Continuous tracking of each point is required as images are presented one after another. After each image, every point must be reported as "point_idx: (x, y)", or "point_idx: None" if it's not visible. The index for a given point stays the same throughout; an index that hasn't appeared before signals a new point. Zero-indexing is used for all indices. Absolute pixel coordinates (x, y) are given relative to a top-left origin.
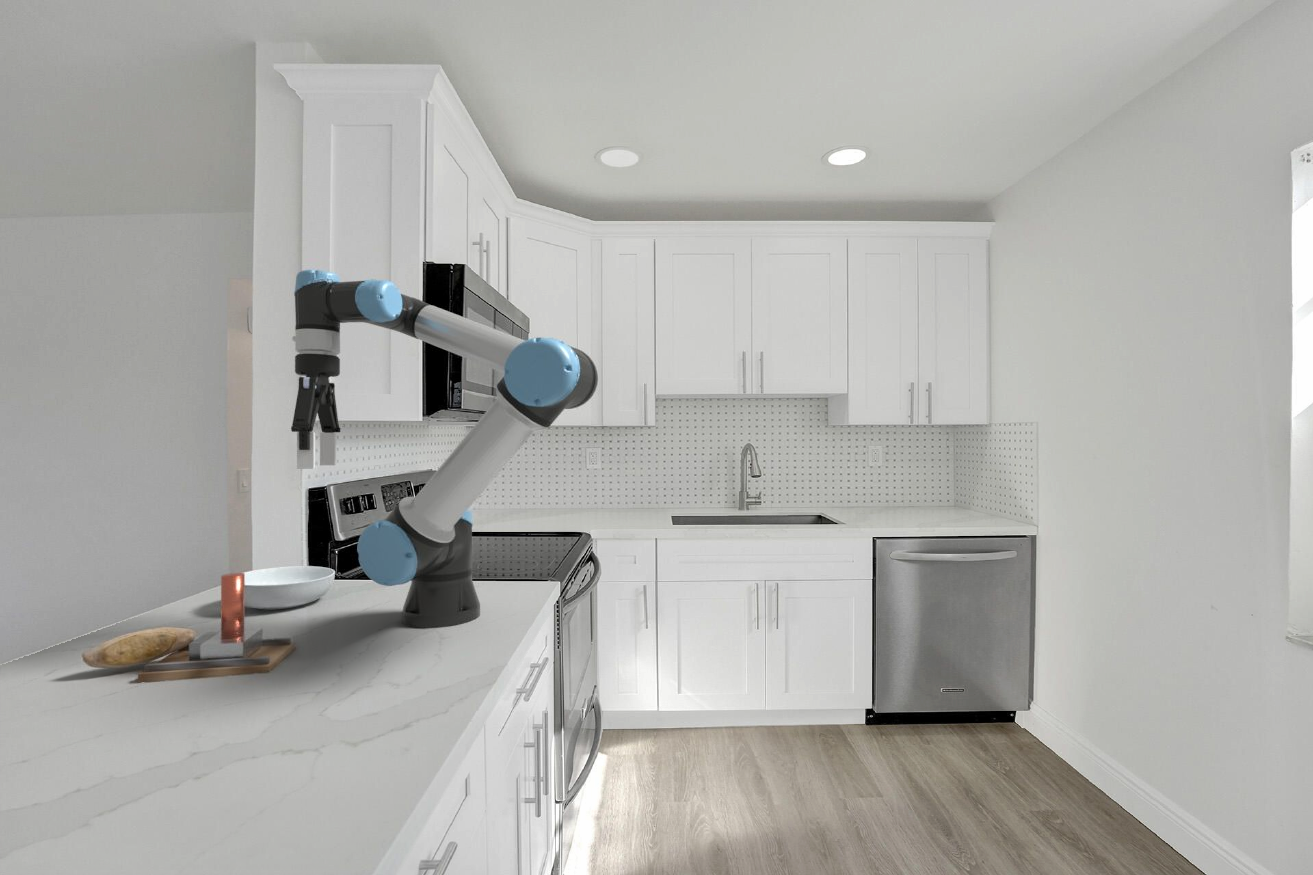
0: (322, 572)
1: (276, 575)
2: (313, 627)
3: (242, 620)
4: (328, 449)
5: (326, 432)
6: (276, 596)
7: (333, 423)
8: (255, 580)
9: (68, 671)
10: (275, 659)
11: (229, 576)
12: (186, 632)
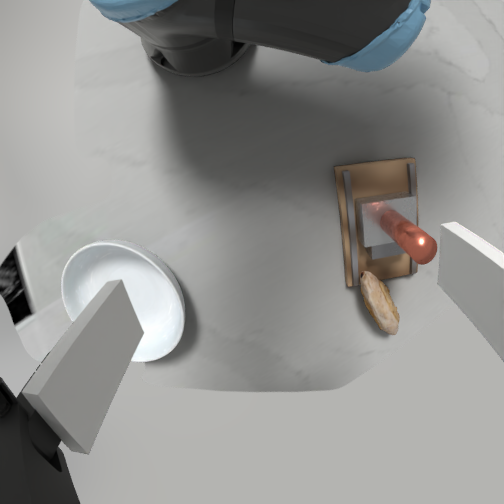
0: (69, 275)
1: None
2: (233, 191)
3: (400, 215)
4: (101, 350)
5: (53, 433)
6: (176, 280)
7: (18, 452)
8: None
9: (367, 343)
10: (398, 161)
11: (433, 249)
12: (372, 279)
